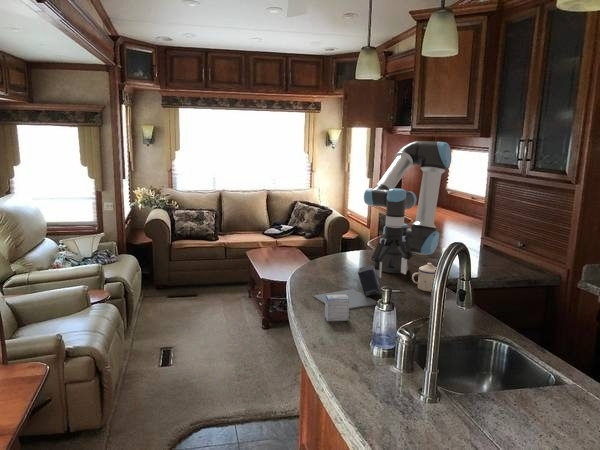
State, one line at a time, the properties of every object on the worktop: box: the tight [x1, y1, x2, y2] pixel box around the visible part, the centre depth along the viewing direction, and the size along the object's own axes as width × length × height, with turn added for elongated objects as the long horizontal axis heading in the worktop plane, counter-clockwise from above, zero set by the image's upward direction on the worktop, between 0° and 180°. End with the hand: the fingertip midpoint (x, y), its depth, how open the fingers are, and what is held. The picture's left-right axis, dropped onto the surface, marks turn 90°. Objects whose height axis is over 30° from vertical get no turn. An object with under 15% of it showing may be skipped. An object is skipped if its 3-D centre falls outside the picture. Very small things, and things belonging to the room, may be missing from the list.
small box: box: [357, 264, 381, 297], centre depth 199 cm, size 11×6×10 cm, turn 169°
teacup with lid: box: [411, 262, 437, 292], centre depth 209 cm, size 12×9×12 cm
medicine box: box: [324, 295, 350, 322], centre depth 172 cm, size 8×4×9 cm, turn 100°
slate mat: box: [312, 288, 378, 310], centre depth 193 cm, size 20×18×1 cm
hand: (391, 275), depth 202 cm, fingers open, 13 cm apart
